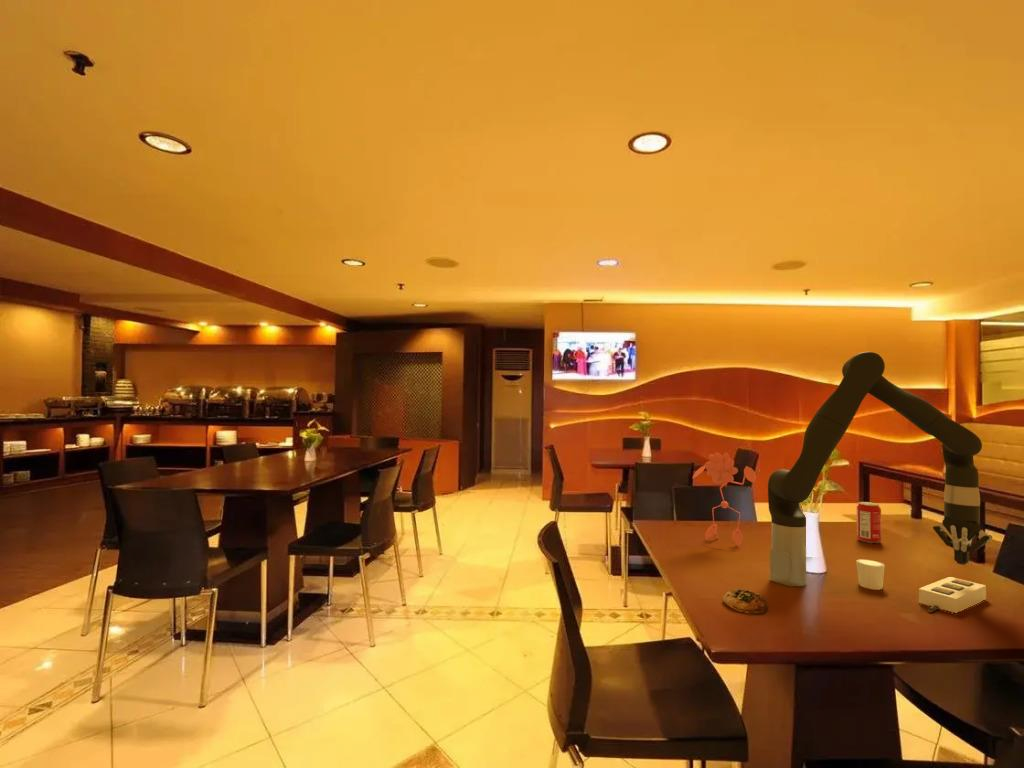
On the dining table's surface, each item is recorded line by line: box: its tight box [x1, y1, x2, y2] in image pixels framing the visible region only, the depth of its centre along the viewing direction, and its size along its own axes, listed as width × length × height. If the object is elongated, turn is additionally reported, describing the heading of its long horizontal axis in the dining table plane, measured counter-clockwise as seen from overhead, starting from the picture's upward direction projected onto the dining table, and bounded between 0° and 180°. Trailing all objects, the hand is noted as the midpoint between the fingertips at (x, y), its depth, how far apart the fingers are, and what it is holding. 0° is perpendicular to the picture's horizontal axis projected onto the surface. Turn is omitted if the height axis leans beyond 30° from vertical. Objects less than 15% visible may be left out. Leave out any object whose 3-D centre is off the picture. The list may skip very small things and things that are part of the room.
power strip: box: [918, 576, 987, 613], centre depth 137 cm, size 24×8×4 cm, turn 120°
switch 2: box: [952, 578, 973, 587], centre depth 141 cm, size 4×4×2 cm
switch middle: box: [942, 583, 964, 591], centre depth 138 cm, size 4×4×2 cm
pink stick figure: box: [691, 451, 757, 547], centre depth 191 cm, size 15×26×35 cm, turn 40°
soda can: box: [856, 501, 882, 544], centre depth 199 cm, size 8×8×15 cm
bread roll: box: [722, 589, 769, 614], centre depth 133 cm, size 11×11×5 cm
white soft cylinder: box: [855, 558, 886, 591], centre depth 149 cm, size 7×7×7 cm
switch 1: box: [931, 587, 954, 595], centre depth 135 cm, size 4×4×2 cm
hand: (961, 563), depth 141 cm, fingers closed
